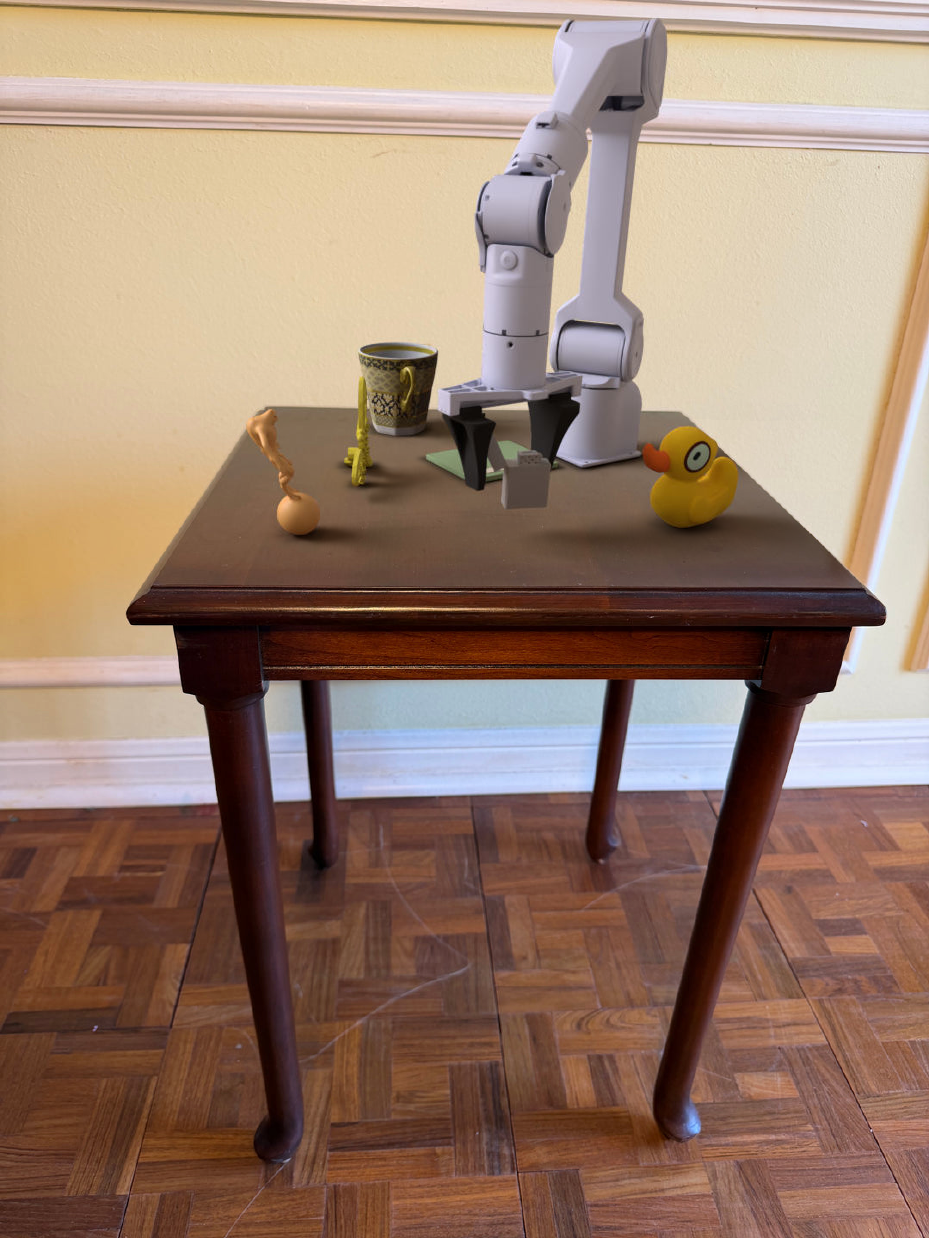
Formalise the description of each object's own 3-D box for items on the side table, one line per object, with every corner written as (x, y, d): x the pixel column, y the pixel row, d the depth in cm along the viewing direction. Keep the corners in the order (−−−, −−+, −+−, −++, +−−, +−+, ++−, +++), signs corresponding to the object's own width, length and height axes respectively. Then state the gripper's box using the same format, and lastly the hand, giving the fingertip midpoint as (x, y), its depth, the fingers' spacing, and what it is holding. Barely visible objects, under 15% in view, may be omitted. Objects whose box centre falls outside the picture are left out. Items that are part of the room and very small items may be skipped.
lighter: (542, 499, 85) (550, 420, 80) (547, 507, 83) (555, 427, 79) (470, 502, 84) (474, 422, 79) (473, 510, 82) (478, 429, 78)
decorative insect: (370, 524, 99) (362, 481, 90) (341, 524, 99) (330, 480, 90) (377, 425, 103) (369, 374, 94) (349, 424, 103) (339, 373, 94)
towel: (507, 444, 110) (508, 439, 110) (558, 467, 103) (558, 461, 102) (425, 459, 104) (425, 453, 104) (472, 484, 97) (473, 478, 96)
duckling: (650, 543, 84) (664, 441, 79) (618, 523, 88) (630, 425, 83) (743, 526, 88) (762, 429, 83) (709, 508, 92) (725, 414, 88)
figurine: (327, 549, 80) (320, 420, 75) (260, 554, 79) (247, 423, 73) (315, 515, 87) (308, 395, 82) (253, 520, 86) (242, 398, 80)
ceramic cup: (353, 420, 118) (351, 343, 113) (425, 415, 120) (426, 340, 116) (374, 449, 107) (372, 365, 102) (453, 444, 109) (455, 362, 105)
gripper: (471, 347, 69) (467, 508, 76) (610, 331, 76) (594, 480, 83) (425, 331, 74) (424, 483, 81) (559, 318, 82) (548, 459, 88)
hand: (507, 480), depth 82 cm, fingers closed on lighter, 7 cm apart
